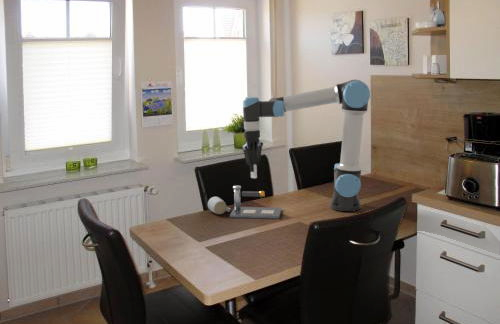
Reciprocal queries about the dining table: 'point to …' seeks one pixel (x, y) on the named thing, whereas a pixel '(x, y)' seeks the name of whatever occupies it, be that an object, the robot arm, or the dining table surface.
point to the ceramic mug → (217, 205)
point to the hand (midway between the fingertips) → (253, 177)
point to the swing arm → (253, 193)
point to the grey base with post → (252, 209)
